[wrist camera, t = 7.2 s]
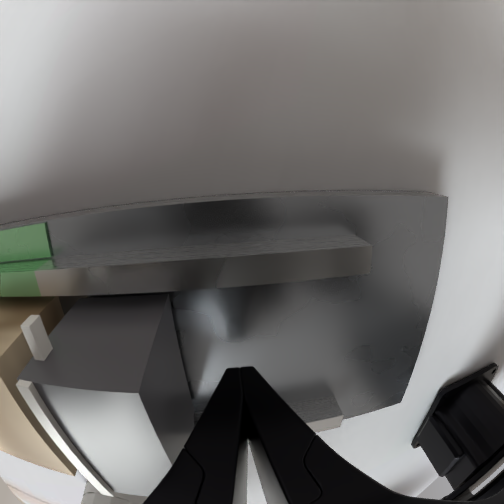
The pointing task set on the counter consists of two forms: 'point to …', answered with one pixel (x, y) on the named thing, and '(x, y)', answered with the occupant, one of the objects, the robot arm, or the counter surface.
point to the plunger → (111, 390)
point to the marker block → (5, 379)
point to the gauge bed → (259, 285)
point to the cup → (109, 497)
